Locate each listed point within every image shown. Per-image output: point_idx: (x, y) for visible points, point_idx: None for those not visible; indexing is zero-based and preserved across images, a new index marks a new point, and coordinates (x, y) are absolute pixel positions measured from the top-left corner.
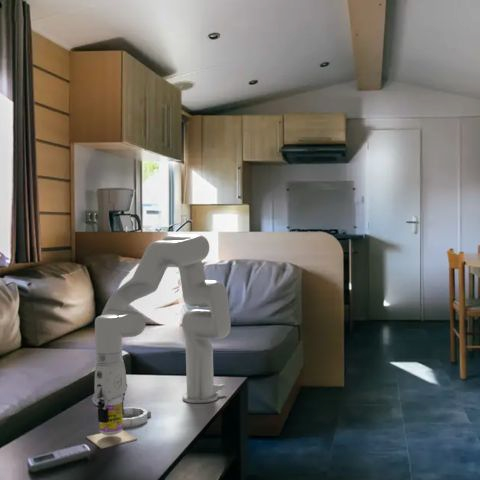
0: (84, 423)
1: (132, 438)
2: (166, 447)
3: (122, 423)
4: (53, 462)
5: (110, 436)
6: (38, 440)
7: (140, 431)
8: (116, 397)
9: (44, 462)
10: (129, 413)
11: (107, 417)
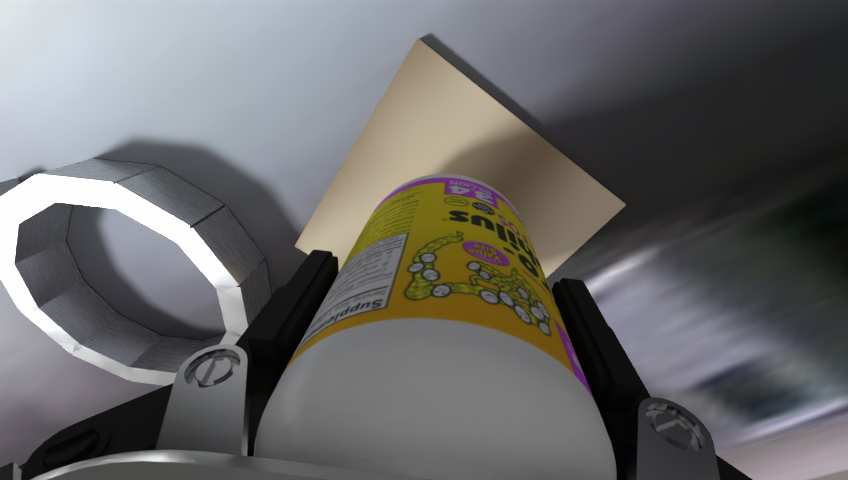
0: None
1: (425, 76)
2: None
3: (410, 193)
4: (834, 337)
5: None
6: None
7: (259, 108)
8: (457, 469)
9: (824, 370)
10: (86, 304)
11: (596, 307)
